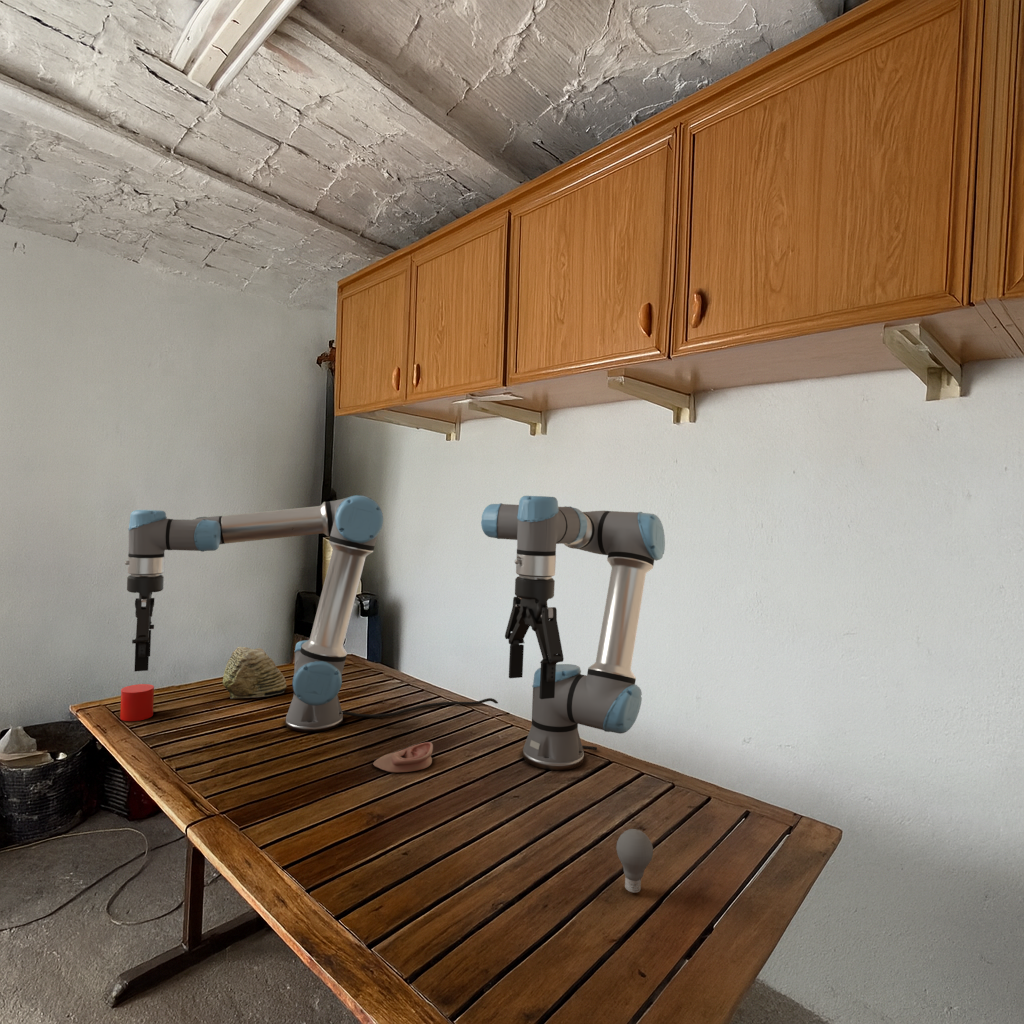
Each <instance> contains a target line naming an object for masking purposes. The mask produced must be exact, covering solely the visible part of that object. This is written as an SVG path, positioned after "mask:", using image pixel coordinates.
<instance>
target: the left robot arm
mask: <svg viewBox="0 0 1024 1024" xmlns="http://www.w3.org/2000/svg"><path fill="white" fill-rule="evenodd" d="M129 515H130V516H129V526H128V528H127V529H128V554H127V556H128V558H127V559H128V560H125V561H124V565H126V566H127V573H128V574H129V575H128V576H127V577H126V591H127V592H129V593H132V594H135V593H136V594H137V593H138V597H137V598H136V597H135V599H134V608H135V612H134V613H135V615H134V616H135V618H136V627H135V629H136V630H135V639H132V640H131V643H132V645H133V644H135V646H134V669H133V670H134V671H133V672H148V671H149V661H150V660H149V659H150V658H149V657H151V645H152V644H151V643H152V630H154V629H155V624H152V617H153V612H154V607H155V597H152V595H153V593H159V592H162V591H163V590H164V581H165V580H164V579H165V578H164V575H163V574H164V573H165V559H166V557H165V552H166V551H188V552H189V551H191V552H192V551H193V552H194V551H195V552H196V551H197V552H199V551H200V552H201V553H203V552H213V551H215V552H216V551H218V549H219V548H220V545H225V544H234V543H245V542H253V541H262V540H271V539H283V538H292V537H300V536H310V535H319V534H324V535H325V536H327V537H329V539H328V543H329V544H330V546H331V548H332V551H331V555H330V558H329V563H328V567H327V570H326V575H325V577H324V582H323V586H322V590H321V593H320V597H319V601H318V605H317V609H316V614H315V617H314V621H313V624H312V627H311V628H312V629H311V633H310V636H309V639H306V640H305V639H304V640H300V641H298V642H296V643H295V648H294V649H295V650H293V651H294V670H293V677H292V681H291V685H292V686H291V687H292V690H293V695H292V696H293V697H292V699H291V702H290V704H289V708H288V711H287V713H286V715H285V726H286V728H287V729H289V730H291V731H294V732H295V731H296V732H301V733H316V732H325V731H329V730H332V729H335V728H337V727H339V726H340V725H342V723H343V722H344V715H345V716H349V717H356V718H367V719H369V718H371V719H372V718H373V719H374V718H375V719H377V718H387V717H394V716H397V715H398V716H399V715H400V714H405V713H408V712H412V711H416V710H420V709H425V708H431V707H438V706H453V705H458V706H459V705H460V706H462V705H463V706H466V705H467V706H474V705H480V704H484V703H487V702H492V703H494V704H499V702H498V700H496V698H492V697H489V698H484V699H481V700H477V701H442V702H441V701H440V702H433V703H426V704H421V705H416V706H413V707H407V708H404V709H401V710H397V711H394V712H388V713H378V714H377V713H376V714H374V713H373V714H371V713H370V714H368V713H367V714H366V713H356V712H352V711H351V712H350V711H344V710H343V709H342V706H341V702H340V699H339V695H338V694H339V693H340V690H341V688H342V685H343V676H342V675H343V671H344V667H345V664H346V660H347V656H348V652H347V650H346V649H345V647H344V644H345V640H346V635H347V632H348V628H349V624H350V620H351V617H352V613H353V609H354V604H355V601H356V596H357V593H358V589H359V585H360V581H361V577H362V574H363V569H364V566H365V562H366V558H367V556H369V555H370V554H372V553H374V551H375V546H376V542H377V539H378V535H379V534H380V532H381V530H382V529H383V524H384V515H383V511H382V509H381V507H380V505H379V504H378V502H376V501H375V500H374V499H372V498H371V497H369V496H366V495H360V494H356V495H355V494H354V495H350V496H347V497H344V498H340V499H337V500H330V501H323V502H322V503H321V504H320V505H315V506H307V507H306V506H304V507H296V508H286V509H285V508H284V509H277V510H266V511H255V512H245V513H234V514H226V515H213V516H199V517H196V518H193V519H173V518H168V516H167V512H166V511H165V510H160V509H159V510H157V509H135V510H132V512H130V514H129Z"/></svg>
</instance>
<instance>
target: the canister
mask: <svg viewBox="0 0 1024 1024" xmlns="http://www.w3.org/2000/svg"><path fill="white" fill-rule="evenodd" d="M154 698H155V685H153V684H149V683H137V684H131V685H127V686H124V687H122V688H121V689H120V709H119V711H120V713H119V719H120V720H121V721H123V722H138V721H143V720H147V719H149V718H152V717H153V715H154V702H155V701H154V700H155V699H154Z"/></svg>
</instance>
